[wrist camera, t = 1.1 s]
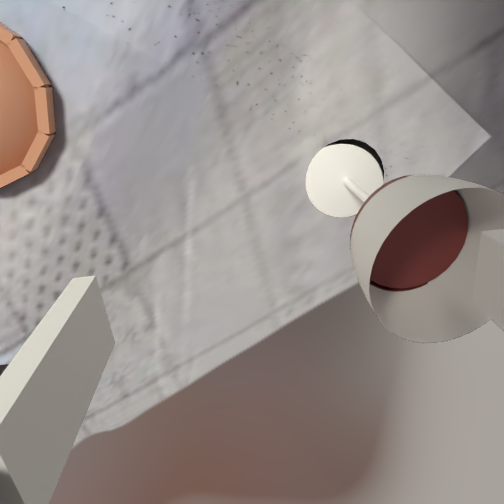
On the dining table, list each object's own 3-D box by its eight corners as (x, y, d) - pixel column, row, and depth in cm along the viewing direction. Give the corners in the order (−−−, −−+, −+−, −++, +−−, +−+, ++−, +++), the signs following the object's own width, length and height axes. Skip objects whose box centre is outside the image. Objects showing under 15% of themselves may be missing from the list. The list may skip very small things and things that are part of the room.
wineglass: (404, 154, 42) (568, 226, 22) (357, 234, 45) (462, 361, 25) (330, 117, 40) (434, 158, 20) (287, 203, 43) (338, 314, 23)
